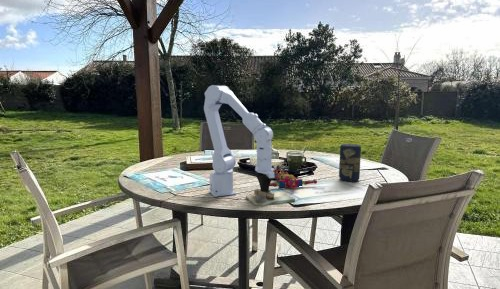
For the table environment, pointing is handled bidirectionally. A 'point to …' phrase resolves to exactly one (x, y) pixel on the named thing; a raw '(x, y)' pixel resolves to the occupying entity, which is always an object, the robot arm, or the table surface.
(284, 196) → the door board
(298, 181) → the toy
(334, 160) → the table surface
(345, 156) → the canister
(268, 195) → the swing latch
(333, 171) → the table surface
